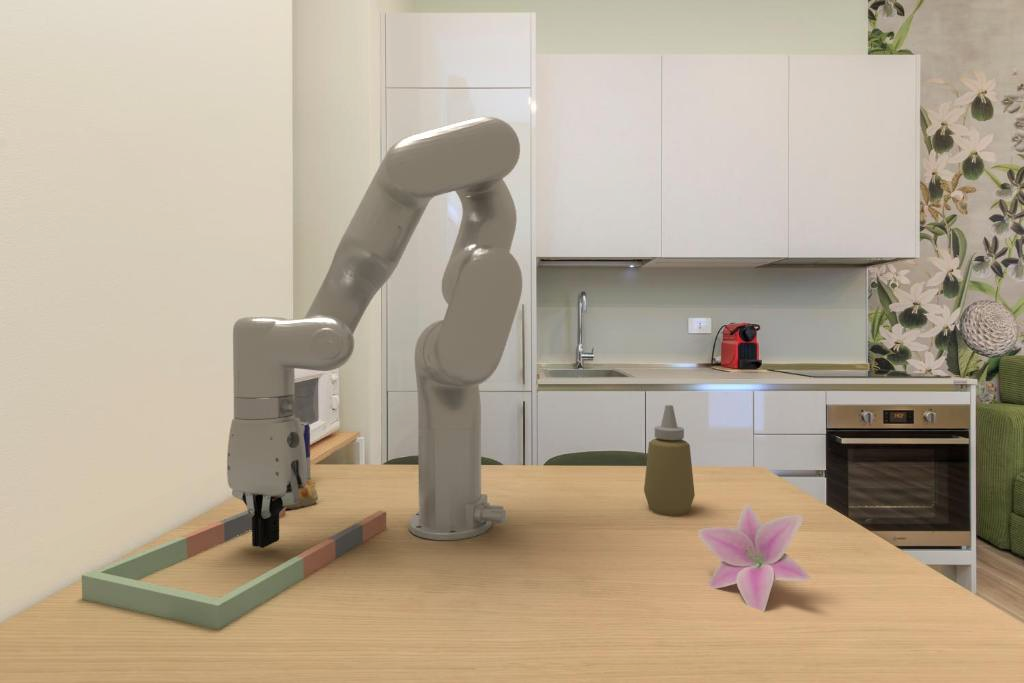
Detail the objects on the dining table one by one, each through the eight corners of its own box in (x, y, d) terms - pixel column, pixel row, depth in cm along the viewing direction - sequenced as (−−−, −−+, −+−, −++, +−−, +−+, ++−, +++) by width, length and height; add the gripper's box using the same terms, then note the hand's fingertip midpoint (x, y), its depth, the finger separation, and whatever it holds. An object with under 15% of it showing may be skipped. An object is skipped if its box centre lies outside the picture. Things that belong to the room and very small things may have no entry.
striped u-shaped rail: (386, 531, 84) (386, 511, 83) (218, 635, 55) (218, 605, 55) (279, 515, 91) (279, 497, 90) (82, 601, 62) (81, 575, 62)
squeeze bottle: (640, 519, 88) (640, 407, 88) (647, 504, 96) (647, 401, 95) (692, 526, 85) (693, 410, 85) (696, 510, 93) (696, 403, 92)
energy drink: (316, 482, 111) (315, 422, 110) (295, 489, 106) (294, 427, 105) (296, 479, 113) (295, 421, 113) (275, 486, 108) (274, 425, 108)
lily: (688, 571, 70) (678, 512, 66) (775, 542, 70) (770, 483, 67) (739, 654, 59) (730, 590, 55) (841, 619, 59) (839, 553, 55)
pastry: (265, 516, 90) (266, 493, 89) (250, 505, 94) (251, 483, 94) (321, 504, 96) (321, 482, 96) (304, 494, 101) (304, 474, 101)
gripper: (328, 407, 75) (329, 541, 75) (244, 402, 80) (245, 527, 81) (288, 415, 68) (289, 562, 68) (199, 409, 73) (200, 546, 74)
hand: (265, 543), depth 75 cm, fingers closed
